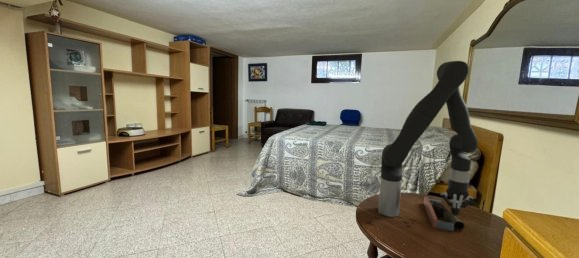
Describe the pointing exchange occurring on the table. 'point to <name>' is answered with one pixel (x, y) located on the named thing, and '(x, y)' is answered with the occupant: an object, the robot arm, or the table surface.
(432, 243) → the table surface
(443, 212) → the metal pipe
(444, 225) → the brown pull handle
